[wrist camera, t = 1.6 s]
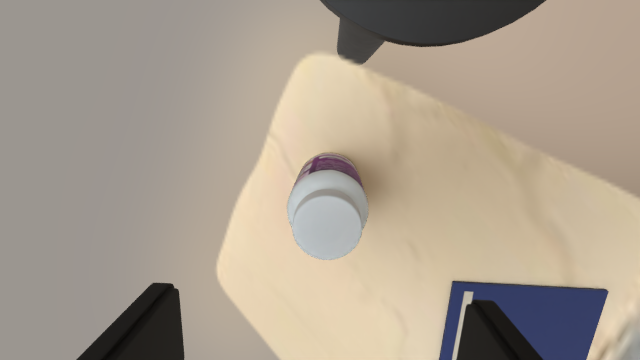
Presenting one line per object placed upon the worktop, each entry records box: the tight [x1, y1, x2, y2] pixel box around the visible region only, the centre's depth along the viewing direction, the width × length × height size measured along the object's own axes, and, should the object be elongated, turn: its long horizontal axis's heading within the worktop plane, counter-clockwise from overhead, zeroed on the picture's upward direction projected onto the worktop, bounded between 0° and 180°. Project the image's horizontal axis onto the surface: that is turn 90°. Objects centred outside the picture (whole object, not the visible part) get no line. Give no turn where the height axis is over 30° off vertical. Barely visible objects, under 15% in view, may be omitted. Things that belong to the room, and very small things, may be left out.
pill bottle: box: [287, 153, 368, 260], centre depth 22 cm, size 5×5×10 cm
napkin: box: [439, 281, 608, 360], centre depth 30 cm, size 14×14×1 cm
